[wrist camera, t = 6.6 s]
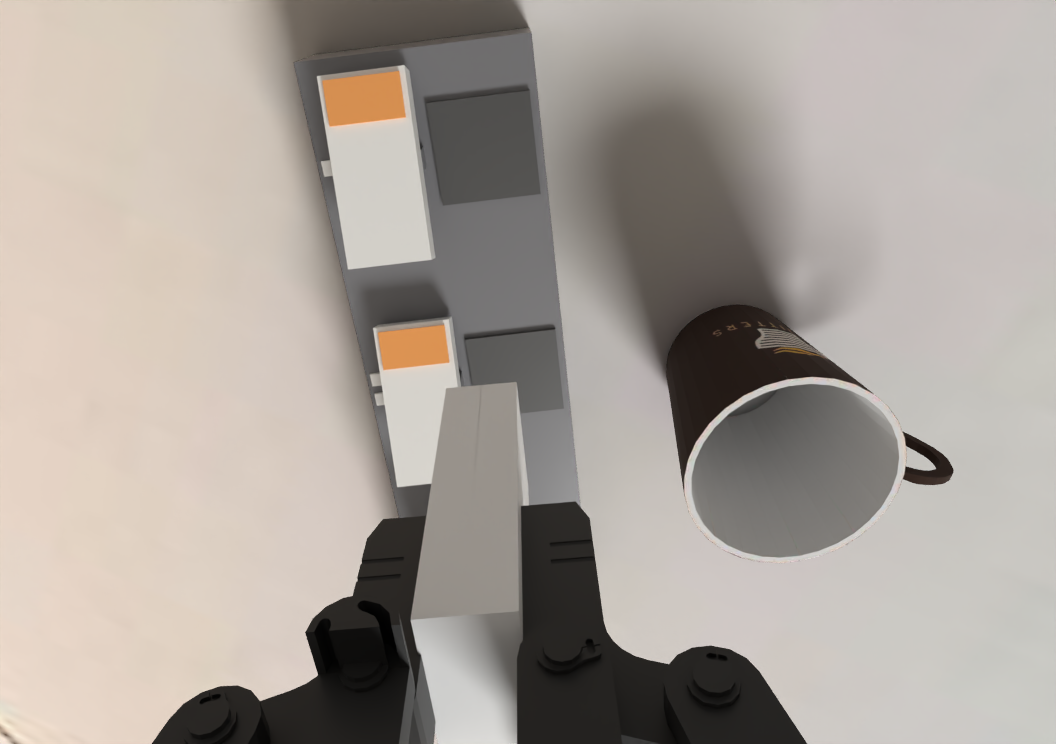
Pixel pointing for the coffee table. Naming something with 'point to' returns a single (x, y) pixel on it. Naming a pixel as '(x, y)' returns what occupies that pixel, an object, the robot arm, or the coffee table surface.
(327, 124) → the block
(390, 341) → the rocker
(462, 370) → the power strip
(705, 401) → the coffee mug
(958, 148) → the coffee table surface
